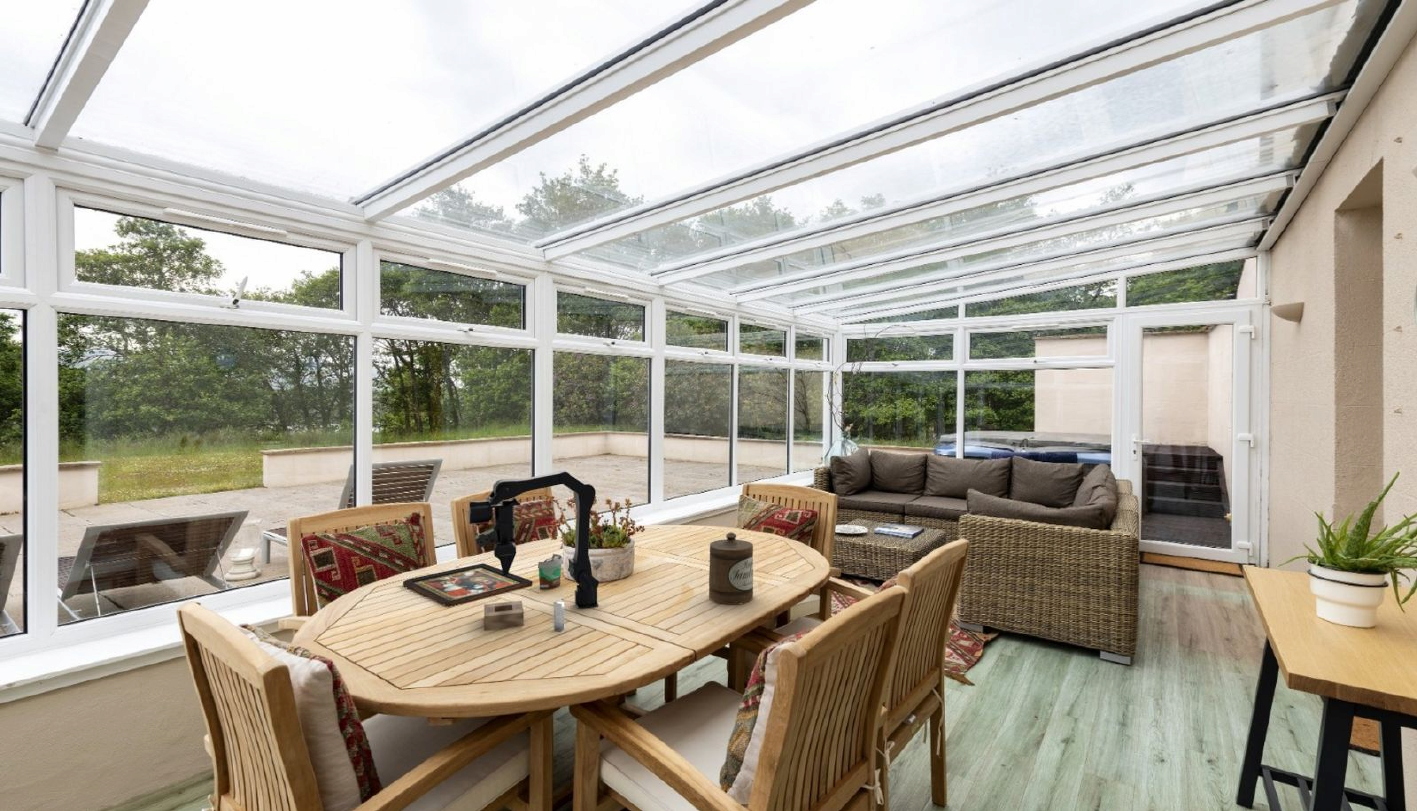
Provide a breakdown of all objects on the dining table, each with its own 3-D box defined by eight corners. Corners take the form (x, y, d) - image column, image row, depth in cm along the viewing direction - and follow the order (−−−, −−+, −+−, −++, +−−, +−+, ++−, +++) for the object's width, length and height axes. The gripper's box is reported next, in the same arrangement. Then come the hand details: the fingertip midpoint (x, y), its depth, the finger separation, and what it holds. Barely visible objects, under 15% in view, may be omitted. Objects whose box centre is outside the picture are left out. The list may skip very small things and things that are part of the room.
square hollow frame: (521, 613, 196) (521, 600, 195) (523, 625, 185) (523, 612, 185) (484, 617, 192) (484, 604, 192) (484, 630, 181) (484, 616, 181)
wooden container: (740, 607, 201) (740, 539, 201) (701, 600, 209) (701, 534, 208) (760, 595, 214) (760, 530, 214) (722, 588, 221) (722, 526, 221)
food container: (554, 591, 217) (554, 563, 217) (537, 590, 218) (537, 562, 218) (569, 581, 229) (569, 554, 229) (553, 580, 230) (553, 553, 230)
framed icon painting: (391, 589, 221) (391, 581, 221) (478, 567, 250) (478, 560, 250) (454, 612, 199) (454, 603, 199) (541, 585, 228) (542, 577, 228)
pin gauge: (563, 626, 184) (563, 599, 184) (564, 630, 181) (564, 603, 181) (553, 628, 183) (553, 600, 183) (554, 631, 180) (554, 604, 180)
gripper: (477, 517, 198) (478, 566, 199) (475, 529, 181) (476, 582, 181) (514, 514, 202) (515, 562, 202) (515, 526, 184) (516, 578, 184)
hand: (505, 571), depth 192 cm, fingers open, 9 cm apart
